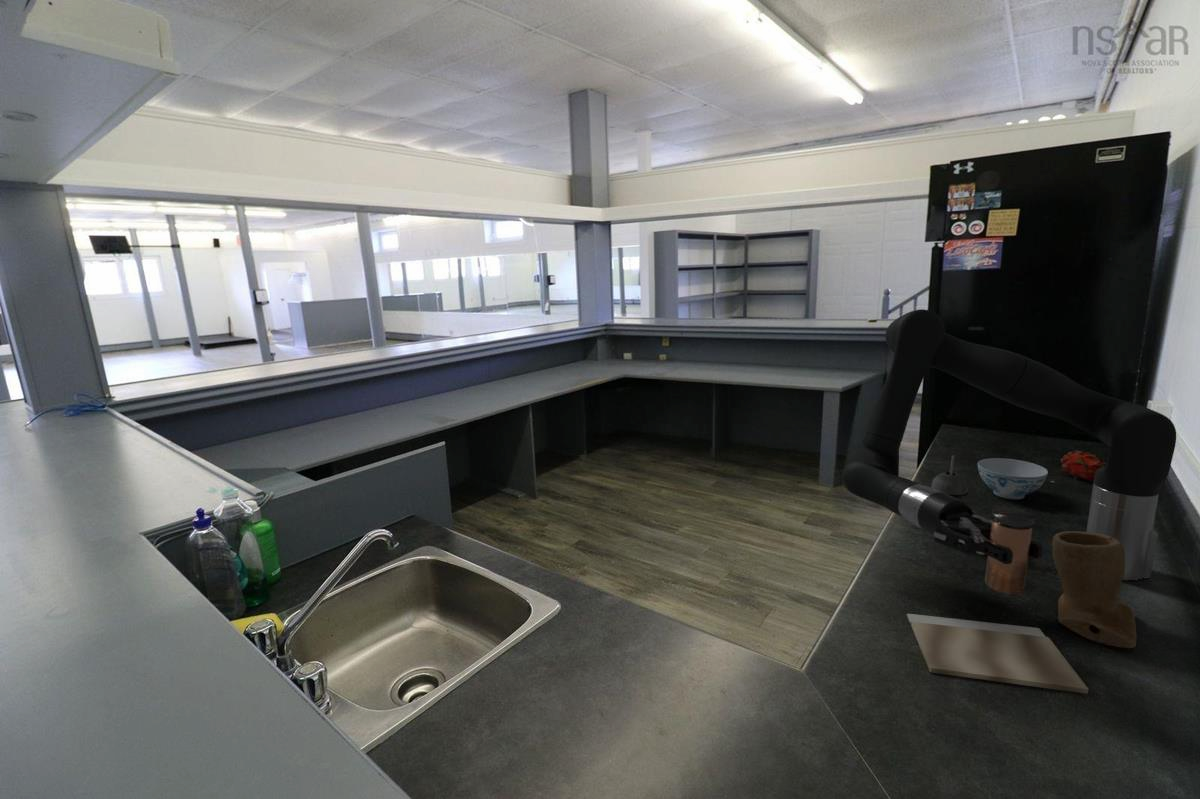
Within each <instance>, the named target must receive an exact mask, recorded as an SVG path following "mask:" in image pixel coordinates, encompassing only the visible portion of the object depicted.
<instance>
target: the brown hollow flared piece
mask: <svg viewBox="0 0 1200 799" xmlns="http://www.w3.org/2000/svg"><path fill="white" fill-rule="evenodd" d="M1052 557H1053V562H1054V565H1055V568H1056V570H1057V573H1058V576H1059V580H1060V582H1061V586H1062V589H1063V593H1062V594H1061V595H1060V597H1058V604H1057V606H1058V607H1057V609H1058V616H1057V619H1058V622H1059V623H1060V624H1062V625H1063V626H1065V627H1067V628H1068V629H1070V630H1071V631H1072V632H1074V633H1076V634H1078V635H1079V636H1080V637H1081V636H1082V638H1084V639H1087V640H1089V641H1092V642H1096V643H1098V644H1101V645H1102V644H1103V645H1106V646H1111V647H1115V648H1116V647H1117V648H1125V649H1133V648H1135V647H1136V645H1137V628H1136V627H1137V626H1136V618H1135V614H1134V612H1133V609H1132V607H1130V606H1129V605H1128V604H1126V603H1124V602H1122V601H1118V600H1117V599H1118V594H1119V592H1120V591H1119V590H1120V588H1121V585H1122V582H1123V581H1124V580H1123V578H1124V574H1125V552H1124V548H1123V546H1122V544H1121V543H1120V542H1119V541H1118V540H1116V539H1114V538H1112V537H1110V536H1107V535H1103V534H1098V533H1088V532H1086V531H1080V530H1079V531H1078V530H1077V531H1076V530H1075V531H1072V530H1071V531H1070V530H1069V531H1068V530H1067V531H1062V532H1058V533H1056V534H1054V536H1053V537H1052Z"/></svg>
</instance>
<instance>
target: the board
mask: <svg viewBox="0 0 1200 799" xmlns="http://www.w3.org/2000/svg"><path fill="white" fill-rule="evenodd" d="M910 624H911V628H912V631H913V634H914V636H915V638H916V640H917V643H918V645H919V648H920V651H921V654H922V655H923V658H924V660H925V663H926V665H927V667H928V670H929V672H930V673H932V674H933V673H934V674H940V675H947V676H955V677H961V678H969V679H976V680H983V681H984V680H985V681H992V682H998V683H1005V684H1014V685H1020V686H1026V687H1034V688H1035V687H1036V688H1042V689H1050V690H1056V691H1065V692H1071V693H1079V694H1085V695H1088V694H1089V688H1088V686H1087V685H1086V684H1085V682H1084V681H1083V680H1082V679H1081V677H1080V675H1079V674H1077V672H1076V671H1075V669H1073V667H1072V665H1071V664H1070V663H1069V662H1068V660H1067V659H1066V658H1065V657H1064V656H1063V654H1062V653H1061V652H1060V650H1059V649H1058V648H1057V646H1056V645H1055V644H1054V642H1053V641H1052V640H1051V639H1050V637H1049V636H1045V637H1042V636H1033V635H1024V634H1015V633H1007V632H998V631H989V630H981V629H972V628H963V627H954V626H946V625H937V624H928V623H920V622H912V623H910Z"/></svg>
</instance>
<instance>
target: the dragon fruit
mask: <svg viewBox="0 0 1200 799" xmlns="http://www.w3.org/2000/svg"><path fill="white" fill-rule="evenodd" d="M1060 463H1061V467H1060V469H1061V470H1062V471H1065V472H1069V473H1070V474H1071V476H1072V477H1073V478H1074V479H1080V478H1081V479H1083V480H1086V481H1089V483H1094V477H1095V472H1096V471H1097V470H1098V469H1099V468H1102V467H1105V466H1106V463H1107V462H1106V463H1105V462H1104V460H1103V458H1102V457H1100V456H1097V455H1096V454H1092V453H1091V452H1089V451H1087V452H1084V451H1080V450H1074V451H1069V452H1068V453H1067V454H1064V455H1063V456H1062V458H1061V459H1060Z"/></svg>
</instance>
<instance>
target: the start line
mask: <svg viewBox="0 0 1200 799" xmlns="http://www.w3.org/2000/svg"><path fill="white" fill-rule="evenodd" d="M906 617H907V618H908V621H909V623H910V624H911V623H912V622H920V623H928V624H937V625H946V626H954V627H963V628H972V629H981V630H989V631H998V632H1007V633H1015V634H1024V635H1033V636H1042V637H1046V635H1045V634H1044V632H1042V630H1041V629H1040V627H1039V628H1038V627H1031V626H1022V625H1012V624H1005V623H1004V624H1003V623H997V622H996V623H994V622H986V621H977V620H967V619H960V618H951V617H950V618H949V617H942V616H941V617H940V616H934V615H933V616H931V615H923V614H916V613H915V614H914V613H906Z"/></svg>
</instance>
